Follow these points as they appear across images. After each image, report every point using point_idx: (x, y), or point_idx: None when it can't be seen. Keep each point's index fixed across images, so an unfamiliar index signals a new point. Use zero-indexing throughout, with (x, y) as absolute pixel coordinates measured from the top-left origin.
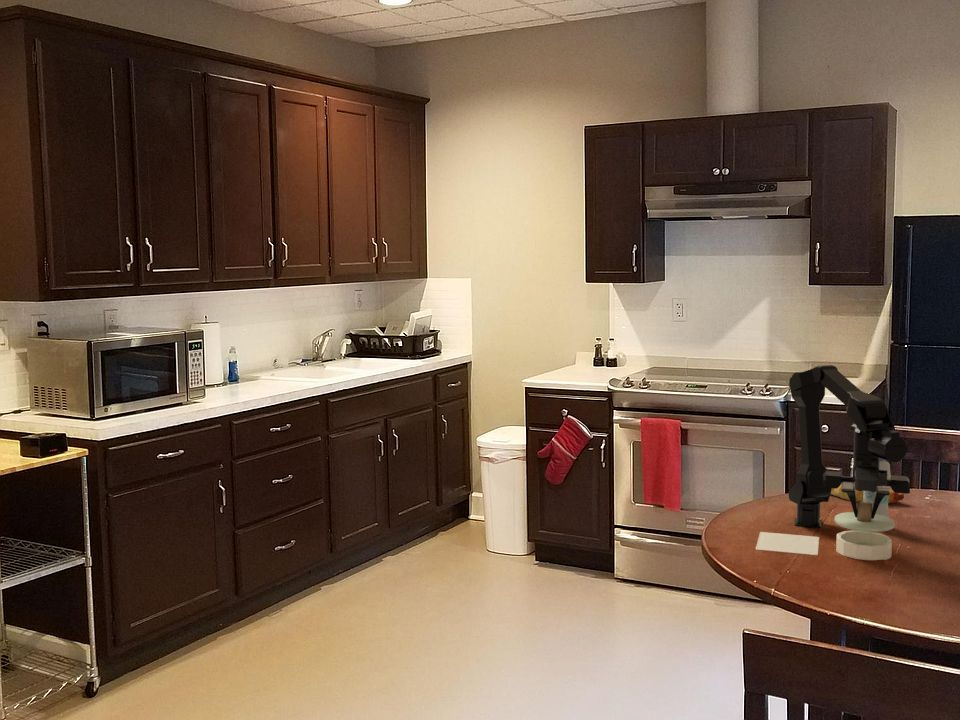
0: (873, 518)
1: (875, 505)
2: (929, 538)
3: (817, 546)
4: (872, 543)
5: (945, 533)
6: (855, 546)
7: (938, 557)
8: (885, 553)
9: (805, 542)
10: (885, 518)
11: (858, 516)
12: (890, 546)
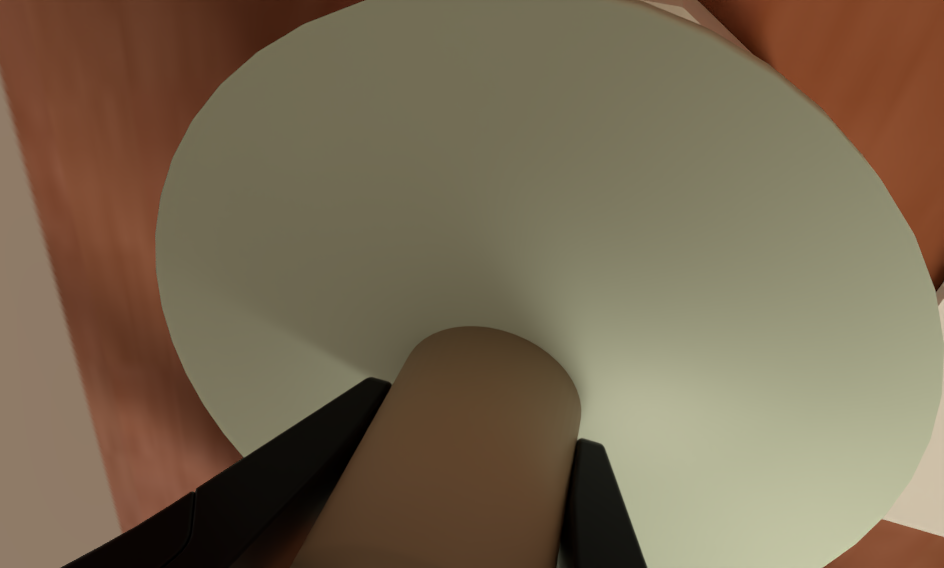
0: (368, 378)
1: (228, 518)
2: (174, 430)
3: (941, 316)
4: None
5: (126, 476)
6: (694, 17)
7: (81, 144)
8: None
9: None
10: (259, 427)
11: (564, 428)
12: None
